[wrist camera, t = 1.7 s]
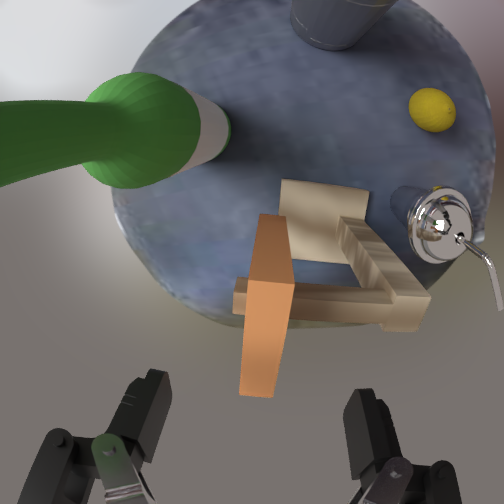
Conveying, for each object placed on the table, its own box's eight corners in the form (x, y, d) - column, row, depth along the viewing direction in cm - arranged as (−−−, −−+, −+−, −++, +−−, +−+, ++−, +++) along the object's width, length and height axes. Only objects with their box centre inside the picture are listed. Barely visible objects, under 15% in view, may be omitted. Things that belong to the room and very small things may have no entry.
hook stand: (257, 176, 34) (237, 226, 15) (366, 189, 33) (453, 251, 15) (251, 250, 38) (230, 359, 19) (352, 260, 37) (405, 364, 19)
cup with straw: (428, 170, 31) (534, 211, 13) (428, 232, 34) (514, 307, 16) (374, 173, 32) (469, 219, 14) (377, 239, 36) (450, 329, 17)
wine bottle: (198, 89, 30) (-15, 6, 2) (246, 126, 31) (95, 80, 4) (160, 137, 32) (-71, 186, 5) (205, 174, 34) (12, 314, 6)
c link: (259, 213, 22) (247, 279, 12) (285, 216, 21) (294, 284, 12) (252, 301, 25) (239, 394, 15) (274, 303, 25) (272, 397, 15)
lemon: (403, 132, 29) (434, 134, 22) (395, 91, 27) (424, 83, 20) (436, 130, 29) (470, 133, 21) (428, 91, 27) (461, 86, 19)
